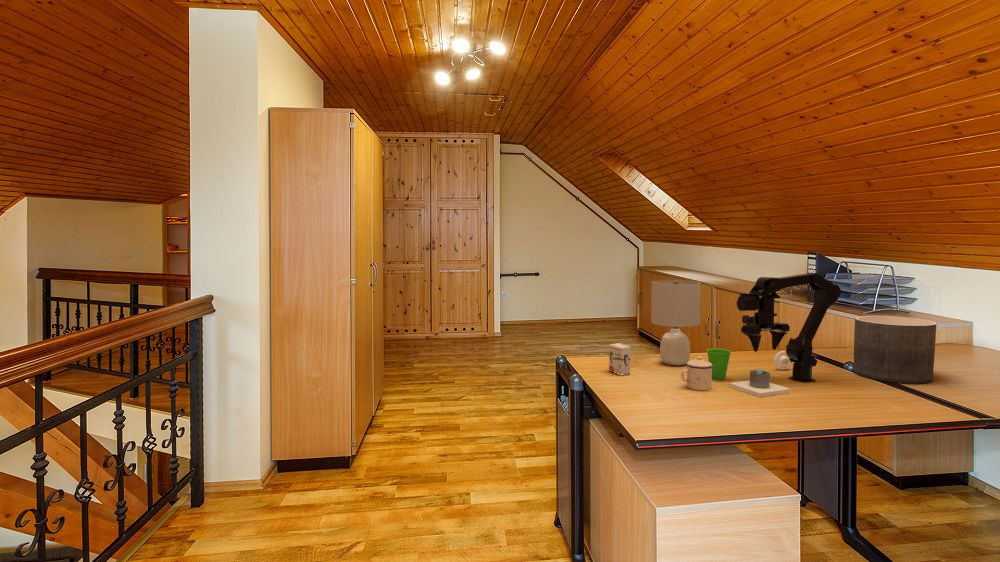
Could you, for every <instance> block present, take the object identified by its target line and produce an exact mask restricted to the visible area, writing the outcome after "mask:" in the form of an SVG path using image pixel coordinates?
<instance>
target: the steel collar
mask: <svg viewBox="0 0 1000 562" xmlns="http://www.w3.org/2000/svg"><path fill="white" fill-rule="evenodd" d="M770 376H771V372H770V371H766V370H763V374H759V373H756V369H753V370H749V380H750V386H752V387H755V388H763V389H765V388H769V387H770V383H771V381H770V379H771V377H770Z"/></svg>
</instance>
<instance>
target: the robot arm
mask: <svg viewBox="0 0 1000 562" xmlns="http://www.w3.org/2000/svg"><path fill="white" fill-rule="evenodd" d="M804 285H808V286H809V287H810V289H811V290H813V292H814V293H813V305H812V306H811V309H810V311H809V313H808V316H807V317H806V318H805V321H804V324H803V326H802V327H801V330H800V332H799V334H798V336H796V337H795V338H792V337H790V339H789V340H788V342H787V345H786V346H785V351H786V353H787V354H786V357H787V358H788V359H790V362H792V374H791V375H792V376H789V379H791V380H795V381H798V382H802V383H806V382H813V381H816V378H813V376H812V375H813V367H816V366H817V363H818V360H817V359H816V358H815V357H814V355H812V353H813V349H814V348H813V340H814V339H815V336H816V334H817V331H818V330H819V329H820V325H821V324H822V322H823V320H824V318H825V316H826V314H827V311H828V309H829V308H830V307H831V306H832V305H834V304H835V303H836V302H837V301H838V300H839V299H840V296H841V295H842V289H841V287H840V286H839V285H838V284H835V283H833V282H832V281H830V280H829V279H827V278H824V277H823V276H822V275H821V274H819V273H816V272H807V273H802V274H795V275H789V276H788V275H787V276H781V277H776V276H775V277H772V276H771V277H769V276H761V277H757V280H756V281H755V283H754V285H753V287H752V288H751V290H750V291H749V292H748V293H746V292H740V293H739V296H738V297H737V299H736V307H737V309H738V311H740V312H749V311H751V312H752V311H753V312H754V315H752V316H750V315H748V314H747V315H746V314H745V315H742V317H741V322H742V324H743V325H742V326H741V327H740V328H741V329H740V330H741V331H740V332H741V334H744V336H745V335H746V337H748V338H749V341H750V343H751V345H752V346H751V347H752V350H753V352H755V353H758V350H759V348H760V343H761V338H762V334H761V333H762V332H765V331H767V332H768V331H769V333H770V334H771V348H772V350H774V351H775V350H777V348H778V346H779V344H780V342H781V341H782V340H783V338H784V337H785V335H787V334H788V332H790V331H791V329H790V325H789V323H785V322H779V321H777V322H776V321H775V317H777V316H778V313H776V312H775V301H776V299H781V295H779V294H778V293H777V292H780V291H782V290H783V289H786V288H790V287H791V288H792V287H797V286H804ZM755 311H756V312H755Z"/></svg>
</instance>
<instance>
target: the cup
mask: <svg viewBox="0 0 1000 562" xmlns="http://www.w3.org/2000/svg"><path fill="white" fill-rule="evenodd" d="M705 352H707V359H708V362H710V363H711V364H712V366H713V367H712V380H716V381H724V380H725V379H726V377H727V372H728V367H729V363H730V362H729V361H730V356H731V354H732V351H731V350H729V349H725V348H707V349H706V351H705Z"/></svg>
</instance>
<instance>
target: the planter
mask: <svg viewBox="0 0 1000 562" xmlns="http://www.w3.org/2000/svg"><path fill="white" fill-rule="evenodd" d="M853 337H854V338H853V366H852V367H853V368H852V370H853V373H855V374H857V375H859V376H862V377H863V378H866V379H869V380H870V379H871V380H876V381H880V382H887V383H893V384H895V383H898V384H909V385H914V384H915V385H916V384H917V385H919V384H920V385H921V384H928V383H931V382H933V381H934V367H935V353H936V339H937V338H936V337H937V322H935V321H933V320H928V319H924V318H923V319H922V318H916V317H907V316H906V317H905V316H895V315H894V316H893V315H892V316H891V315H861V316H856V317H854V334H853Z"/></svg>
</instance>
